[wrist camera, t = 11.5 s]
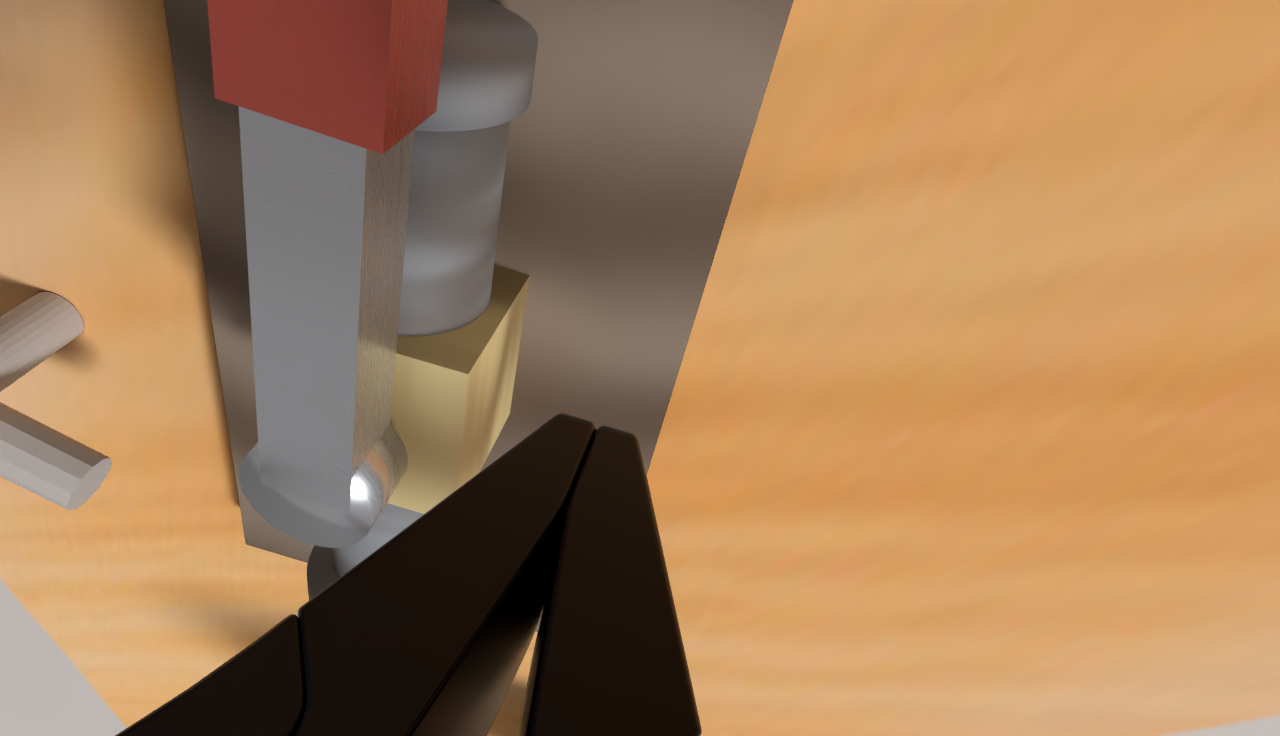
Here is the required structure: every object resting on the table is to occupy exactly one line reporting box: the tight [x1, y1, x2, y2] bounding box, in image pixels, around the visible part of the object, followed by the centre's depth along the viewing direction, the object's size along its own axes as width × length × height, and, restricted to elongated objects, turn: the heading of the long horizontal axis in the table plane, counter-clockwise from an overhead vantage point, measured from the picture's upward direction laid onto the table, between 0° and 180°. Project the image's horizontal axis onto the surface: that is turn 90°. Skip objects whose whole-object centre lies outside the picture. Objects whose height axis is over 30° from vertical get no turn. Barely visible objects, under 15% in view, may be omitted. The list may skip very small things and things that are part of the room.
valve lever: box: [207, 0, 448, 548], centre depth 14 cm, size 15×3×2 cm, turn 165°
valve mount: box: [164, 0, 793, 632], centre depth 22 cm, size 24×14×6 cm, turn 168°
